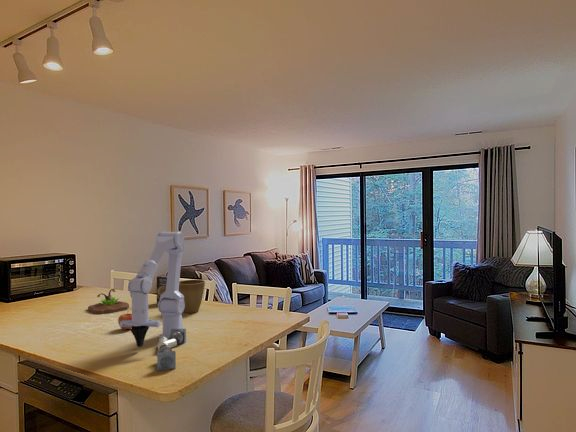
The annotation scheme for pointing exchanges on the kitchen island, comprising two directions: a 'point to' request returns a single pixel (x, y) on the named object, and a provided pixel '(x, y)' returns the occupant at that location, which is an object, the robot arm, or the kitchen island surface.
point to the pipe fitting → (167, 342)
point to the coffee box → (161, 286)
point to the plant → (108, 305)
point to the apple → (125, 317)
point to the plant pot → (192, 294)
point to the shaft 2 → (178, 335)
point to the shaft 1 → (166, 359)
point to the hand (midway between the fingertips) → (140, 345)
